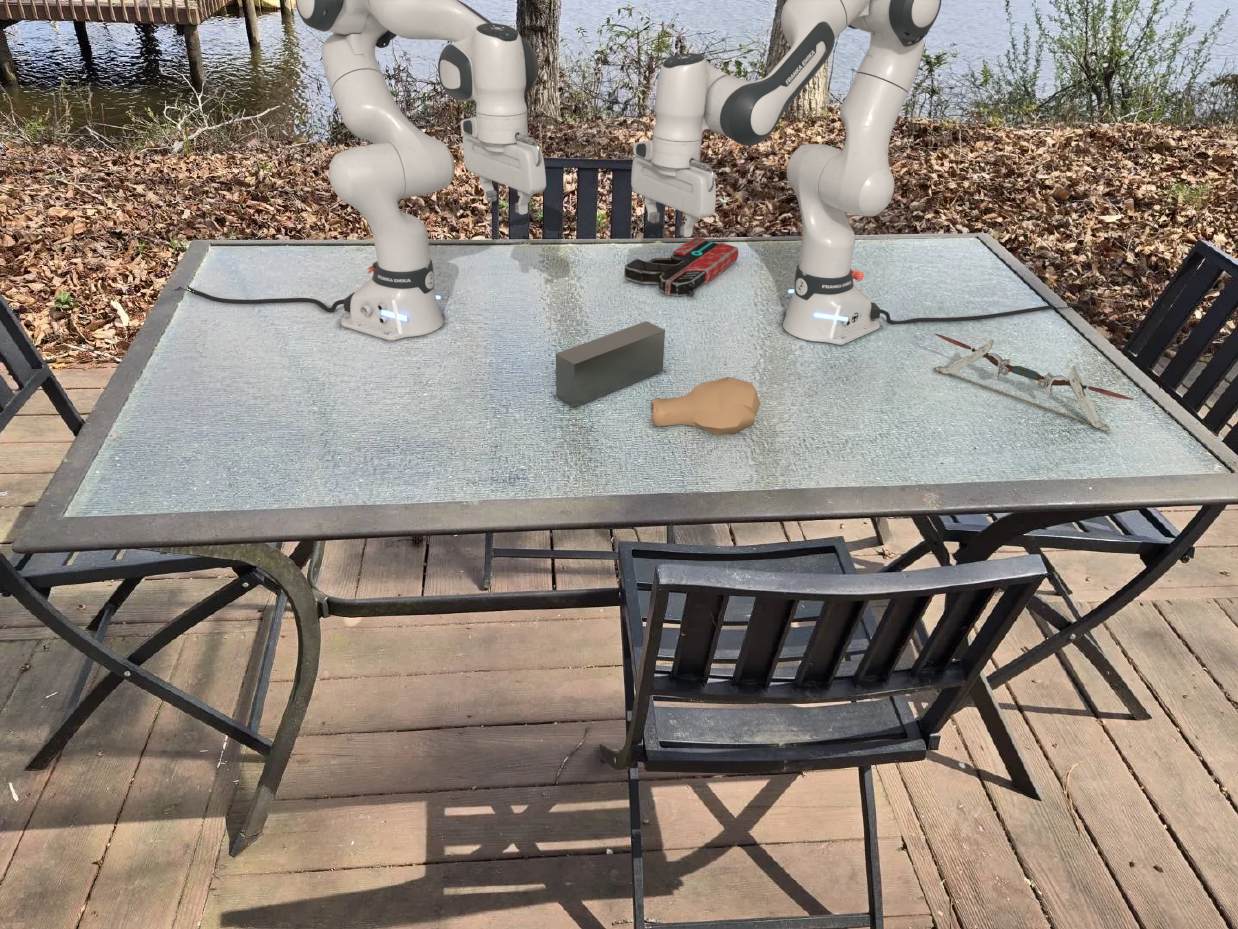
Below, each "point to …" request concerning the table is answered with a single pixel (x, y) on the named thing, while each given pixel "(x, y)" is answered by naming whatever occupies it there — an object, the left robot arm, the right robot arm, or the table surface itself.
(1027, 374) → the bow
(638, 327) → the bar
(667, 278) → the gun
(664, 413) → the squash
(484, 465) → the table surface
